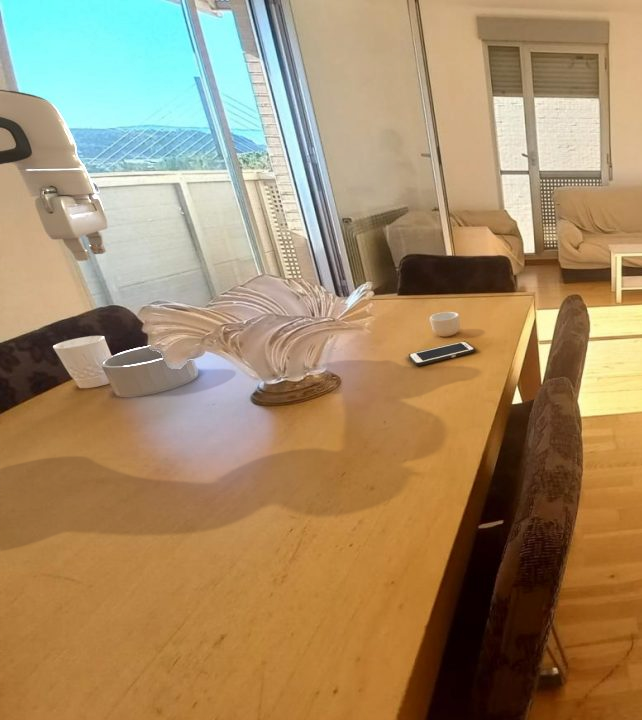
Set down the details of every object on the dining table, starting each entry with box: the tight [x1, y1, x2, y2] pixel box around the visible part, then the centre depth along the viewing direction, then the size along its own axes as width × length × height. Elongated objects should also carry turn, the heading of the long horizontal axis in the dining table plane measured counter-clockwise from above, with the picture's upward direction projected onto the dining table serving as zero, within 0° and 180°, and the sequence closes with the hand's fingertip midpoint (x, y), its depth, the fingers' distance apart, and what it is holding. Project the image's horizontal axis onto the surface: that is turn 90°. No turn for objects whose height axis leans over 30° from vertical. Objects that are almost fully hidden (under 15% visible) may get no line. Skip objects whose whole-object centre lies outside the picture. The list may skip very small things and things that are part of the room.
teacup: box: [429, 311, 461, 338], centre depth 133 cm, size 10×8×5 cm
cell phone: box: [408, 340, 476, 367], centre depth 118 cm, size 8×15×1 cm, turn 127°
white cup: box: [52, 335, 113, 389], centre depth 107 cm, size 8×8×10 cm
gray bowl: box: [100, 345, 199, 398], centre depth 106 cm, size 14×14×7 cm
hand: (92, 256), depth 98 cm, fingers open, 8 cm apart
